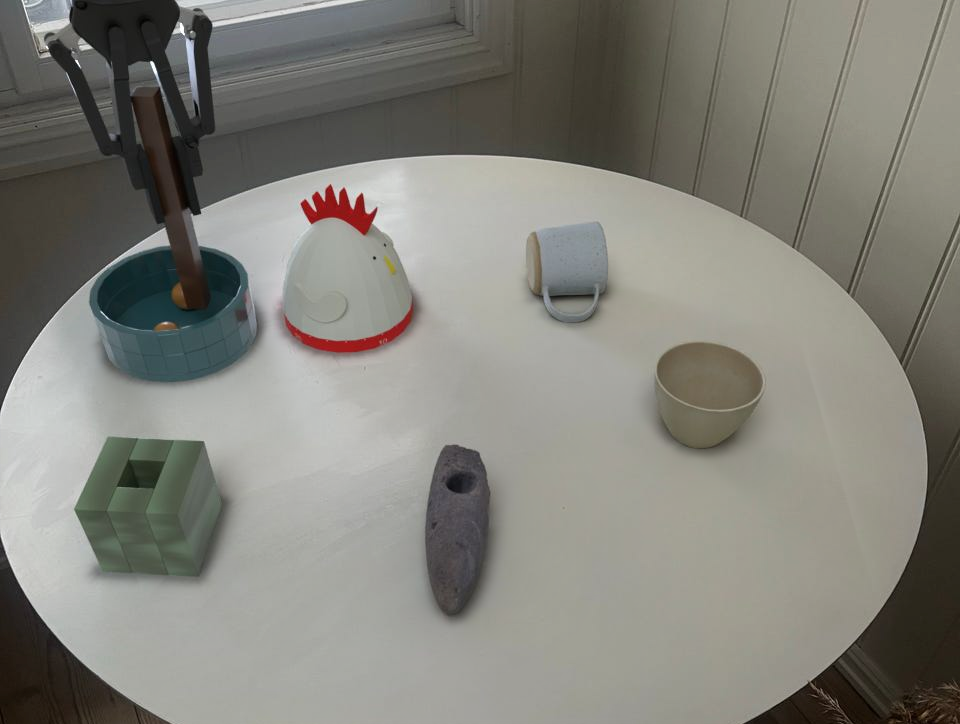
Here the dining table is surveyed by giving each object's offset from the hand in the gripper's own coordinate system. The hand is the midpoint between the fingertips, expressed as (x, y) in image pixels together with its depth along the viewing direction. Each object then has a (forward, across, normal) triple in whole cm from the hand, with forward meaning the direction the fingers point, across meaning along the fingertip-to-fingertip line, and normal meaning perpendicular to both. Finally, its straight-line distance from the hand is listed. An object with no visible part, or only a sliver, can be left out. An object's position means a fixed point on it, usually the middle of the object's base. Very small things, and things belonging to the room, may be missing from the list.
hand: (175, 211), depth 87 cm
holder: (+15, -11, -26) cm, 31 cm away
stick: (+11, 0, 0) cm, 11 cm away
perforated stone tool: (+15, +10, -38) cm, 43 cm away
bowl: (+15, -2, +1) cm, 15 cm away
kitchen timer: (+15, +15, -3) cm, 21 cm away
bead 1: (+12, -4, -2) cm, 13 cm away
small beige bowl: (+15, +38, -35) cm, 54 cm away
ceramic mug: (+15, +38, -11) cm, 42 cm away
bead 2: (+12, 0, +4) cm, 13 cm away
